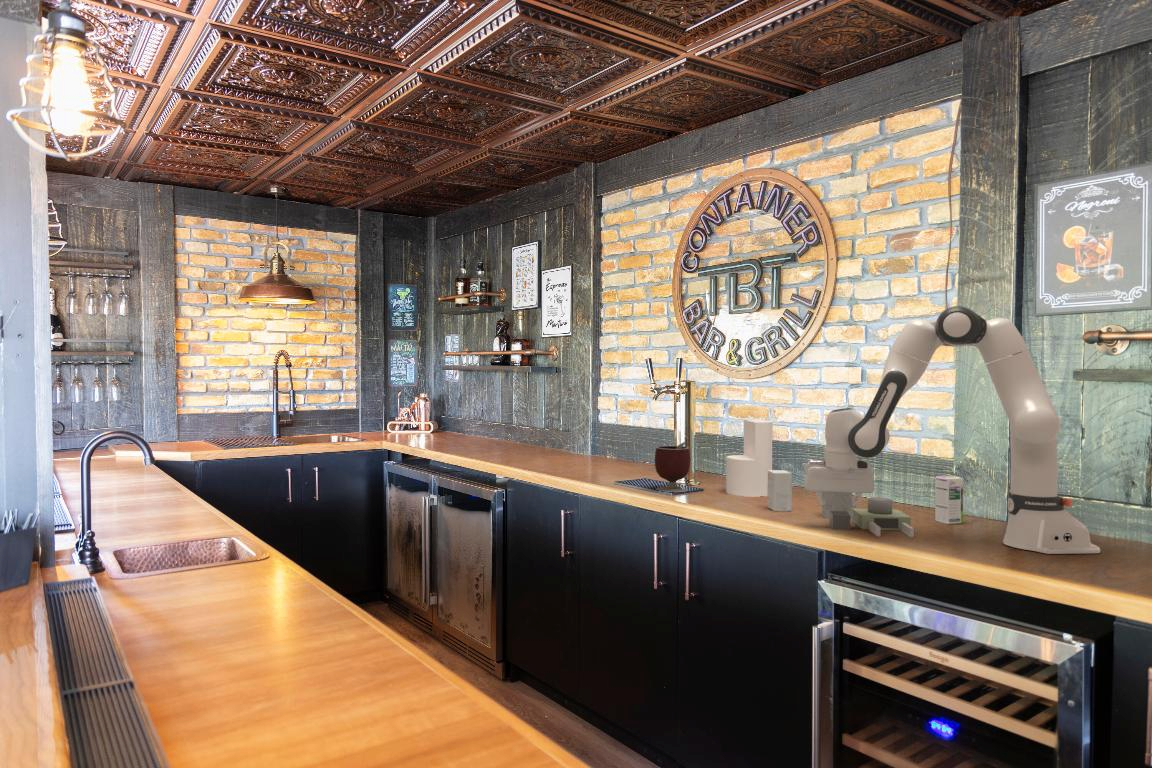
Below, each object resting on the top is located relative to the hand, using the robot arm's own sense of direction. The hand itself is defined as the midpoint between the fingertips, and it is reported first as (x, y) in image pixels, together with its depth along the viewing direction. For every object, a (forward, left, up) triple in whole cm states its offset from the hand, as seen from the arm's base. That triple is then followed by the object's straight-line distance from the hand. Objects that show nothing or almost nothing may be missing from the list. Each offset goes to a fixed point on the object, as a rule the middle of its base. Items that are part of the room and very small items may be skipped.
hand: (838, 506), depth 230 cm
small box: (+14, -28, -7) cm, 32 cm away
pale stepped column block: (+21, -61, -7) cm, 65 cm away
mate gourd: (+50, -62, -7) cm, 79 cm away
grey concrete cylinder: (-3, -18, -7) cm, 19 cm away
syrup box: (-36, -13, -7) cm, 39 cm away
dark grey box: (0, 0, -7) cm, 7 cm away
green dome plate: (-13, +1, -6) cm, 15 cm away
